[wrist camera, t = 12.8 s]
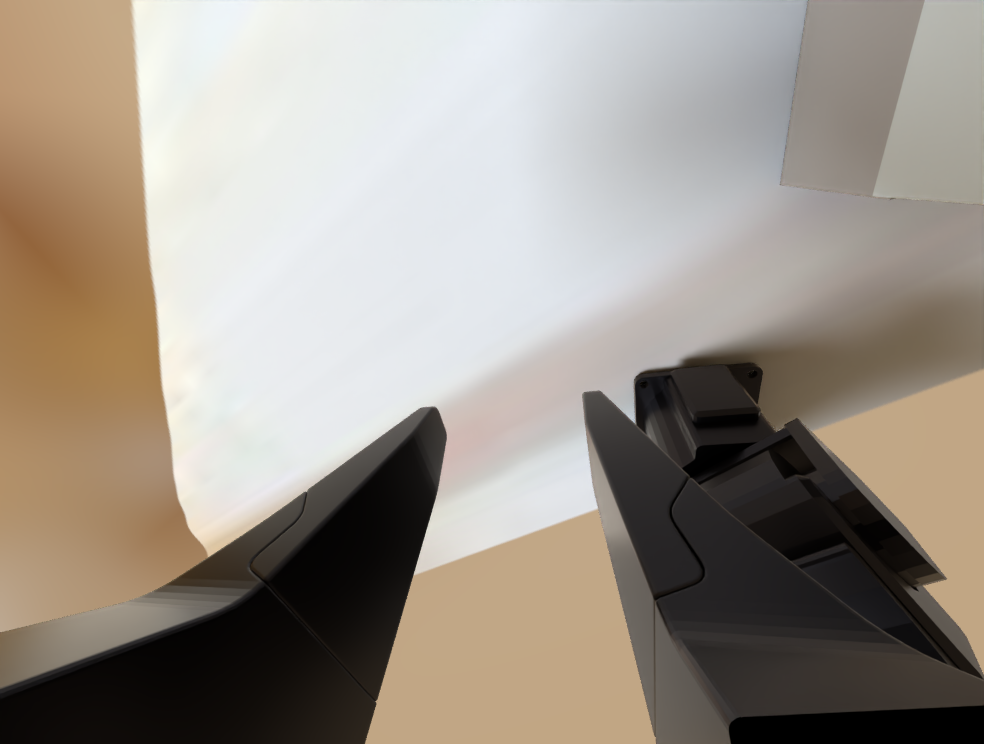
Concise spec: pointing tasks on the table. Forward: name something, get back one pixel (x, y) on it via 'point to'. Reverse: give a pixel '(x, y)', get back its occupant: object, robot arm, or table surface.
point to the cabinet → (847, 92)
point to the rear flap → (940, 110)
